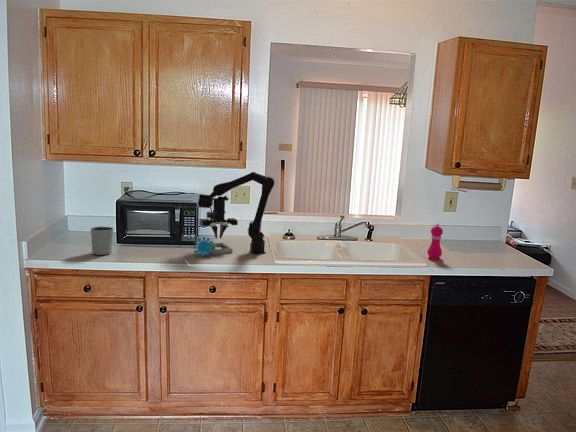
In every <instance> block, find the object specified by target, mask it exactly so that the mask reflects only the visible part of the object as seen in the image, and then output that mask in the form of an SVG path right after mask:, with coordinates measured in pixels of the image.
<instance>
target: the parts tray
mask: <svg viewBox="0 0 576 432" xmlns="http://www.w3.org/2000/svg"><path fill="white" fill-rule="evenodd" d="M214 244H216V247H215V250H214V249H212V250H213V252H210V250H208V253H209V254H210V255H225V254H233V248H232V247H230V246H229V245H227V244H226V243H225V242H213V244H211V243H209V245H214ZM217 247H223V248H220V249H219V248H217ZM216 248H217V249H216Z"/></svg>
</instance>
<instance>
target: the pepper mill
mask: <svg viewBox="0 0 576 432" xmlns="http://www.w3.org/2000/svg"><path fill="white" fill-rule="evenodd" d="M443 233H444V230H443V228H442V227H441V226H440V223H436V224H435V226H433V227H432V228H431V229H430V234H431V236H430V238H431V242H430V245H429V247H428V249H427V256H428V257H427V259H428V260H431V261H440V260H441V258H440V257H442V255H443V252H442V247H441V239H442V235H443Z"/></svg>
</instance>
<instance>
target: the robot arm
mask: <svg viewBox="0 0 576 432" xmlns="http://www.w3.org/2000/svg"><path fill="white" fill-rule="evenodd" d="M251 181H252V182H253V181H254V182H256V183H258V184H259V185H261V194H260V195H261V196H260V198H259V201H258V206H257V209H256V212H255V216H254V218H253V221H252V220H251V221H250V222H249V225H248V229H247V231H248V232H247V235H248V236H249V238H251V242H250V244H249V252H250V253H253V254H255V255H257V254H266V251H265V244H266V241H265V239H264V238H265V234H264V233H263V232H262V220H263V217H264V213H265V209H266V206H267V203H268V200H269V196H270V195H271V192H272V190H273V188H274V187H275V184H276V181H275V178H273V177H272V176H265V175H264V174H263V175H262V174H260V173H257V172H255V171H251V172H250V173H248V174H245V175H244V176H243V175H242V176H241V177H238V178H236V179H233V180H231V181H228V182H227V181H226V182H221V183H218V184H216V185H214V186H213V187H212V188H213V189H212V191H211V192H212V193H210V194H203V193H202V194H201V193H200V194H199V198H198V203H197V205H198V208H201V209H206V208H207V209H211V207H212V208H213V209H212V212H211V211H207V212H206V218H200V220H199V226H201V227H211V229H212V232H213V234H214V238H215V240H216V239H217V238H218V225H219V239H222V237H223V235H224V233H225V231H226V229H227V228H229V224H230V225H231V226H238V224H239V223H238V222H239V221H238V220H237V219H236V218H234V217H231V218H230V217H229V218H228V217H227V219H225V218H226V217H225V214H226V209H225V206H226V201H229V199H230V198H229V197H228V196H227V194H226V193H228V192H229V191H231V190H233V189H235V188H237V187H239V186H242V185H245V184H247V183H249V182H251ZM224 194H226V195H224ZM223 195H224V196H223ZM217 240H218V239H217Z"/></svg>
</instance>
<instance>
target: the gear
mask: <svg viewBox="0 0 576 432" xmlns="http://www.w3.org/2000/svg"><path fill="white" fill-rule="evenodd" d="M198 241H199V243H198ZM198 241H194V244H195V245H193V249H194V253H195V254H197V256H198V257H200V256H202V257H206V256H210V252H213V250H212V249H214V250H215V249H216V248H217V247H216V244H214V245H209V243H211V244H213V243H214V241H213V240H211V238H209V237H207V239H206V237H205V236H203V237H202V238H198ZM196 245H197V246H196ZM208 250H210V252H209V251H208ZM205 254H206V255H205Z"/></svg>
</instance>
